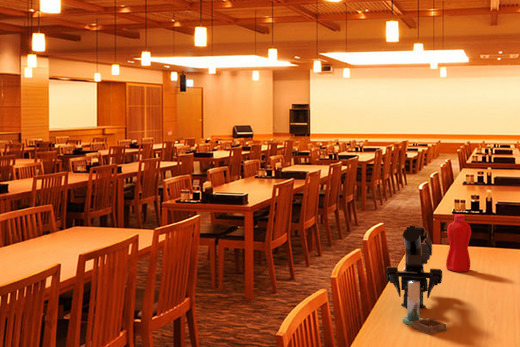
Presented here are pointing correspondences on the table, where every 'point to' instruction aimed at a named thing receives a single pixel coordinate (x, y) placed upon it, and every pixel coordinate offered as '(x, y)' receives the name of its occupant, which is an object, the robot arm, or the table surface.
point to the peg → (413, 300)
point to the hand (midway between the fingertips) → (413, 296)
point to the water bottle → (458, 244)
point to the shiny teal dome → (408, 321)
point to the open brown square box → (424, 327)
